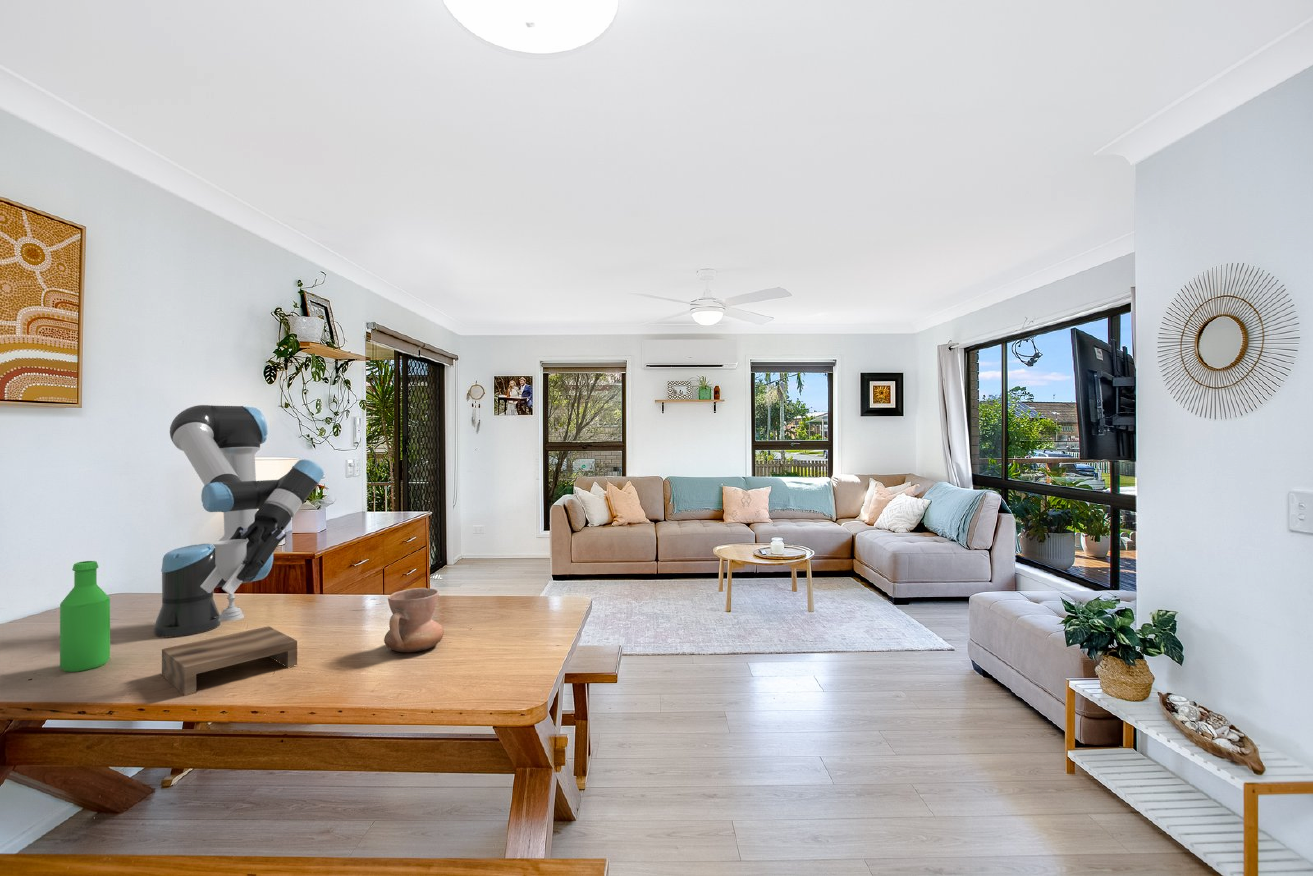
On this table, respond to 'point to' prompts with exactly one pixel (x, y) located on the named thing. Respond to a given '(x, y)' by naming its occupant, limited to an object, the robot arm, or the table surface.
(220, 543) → the chalice
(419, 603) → the ceramic jug
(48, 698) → the table surface
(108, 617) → the bottle
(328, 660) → the table surface
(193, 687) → the walnut shelf
